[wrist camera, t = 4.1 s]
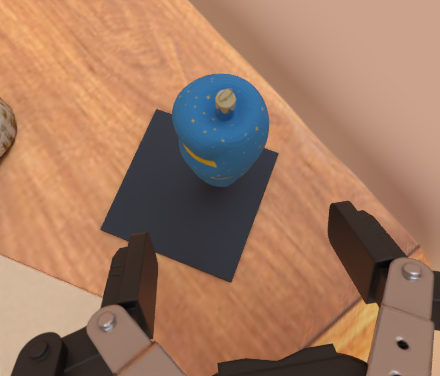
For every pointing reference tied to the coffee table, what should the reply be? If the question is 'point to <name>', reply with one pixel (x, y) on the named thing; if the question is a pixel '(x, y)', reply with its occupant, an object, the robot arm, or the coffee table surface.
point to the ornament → (220, 127)
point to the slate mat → (186, 204)
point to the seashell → (6, 127)
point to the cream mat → (37, 308)
